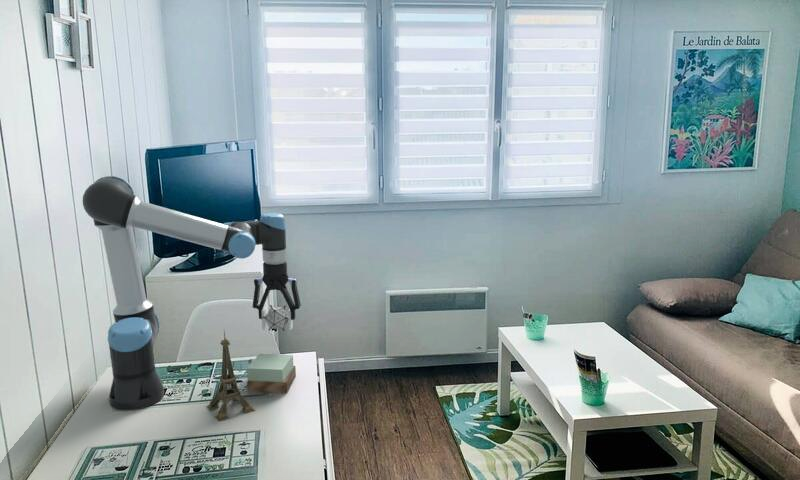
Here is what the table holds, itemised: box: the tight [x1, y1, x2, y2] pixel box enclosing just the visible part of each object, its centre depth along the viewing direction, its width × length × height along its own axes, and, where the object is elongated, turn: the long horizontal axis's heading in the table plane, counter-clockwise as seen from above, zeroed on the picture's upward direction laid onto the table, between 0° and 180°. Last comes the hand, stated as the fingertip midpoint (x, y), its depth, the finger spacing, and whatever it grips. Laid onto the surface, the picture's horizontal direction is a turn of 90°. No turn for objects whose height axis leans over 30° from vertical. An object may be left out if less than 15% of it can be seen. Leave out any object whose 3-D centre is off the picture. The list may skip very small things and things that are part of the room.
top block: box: [246, 353, 295, 382], centre depth 201 cm, size 11×11×4 cm
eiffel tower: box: [206, 330, 256, 422], centre depth 185 cm, size 11×11×25 cm
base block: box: [246, 365, 297, 394], centre depth 202 cm, size 12×12×4 cm
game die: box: [262, 304, 288, 332], centre depth 213 cm, size 9×8×10 cm
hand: (277, 328), depth 214 cm, fingers closed on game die, 8 cm apart
